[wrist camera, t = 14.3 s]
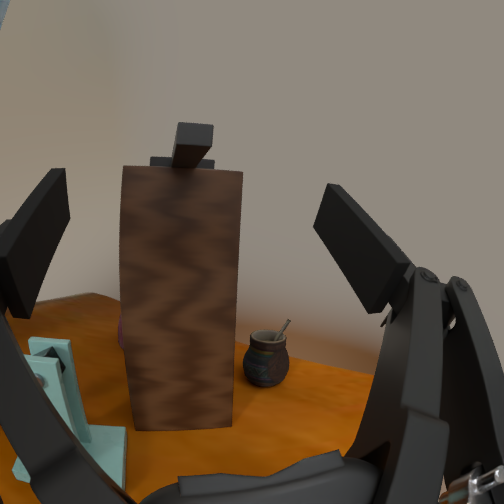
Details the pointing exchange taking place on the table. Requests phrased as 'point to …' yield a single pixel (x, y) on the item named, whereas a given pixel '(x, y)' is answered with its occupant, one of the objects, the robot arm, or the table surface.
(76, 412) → the mounting bracket
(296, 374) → the table surface
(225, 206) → the shelf block
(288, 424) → the table surface
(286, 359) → the mate gourd
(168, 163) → the spatula
